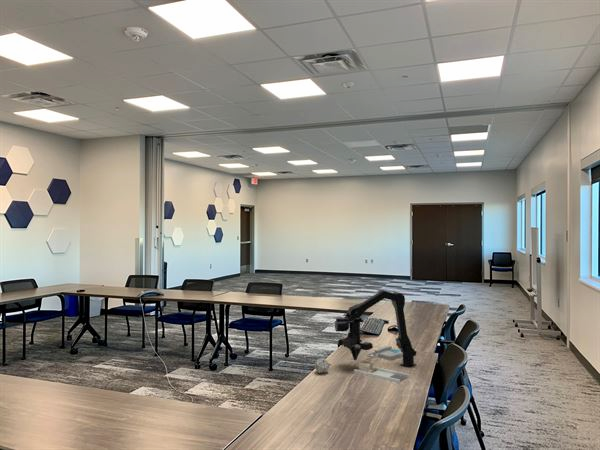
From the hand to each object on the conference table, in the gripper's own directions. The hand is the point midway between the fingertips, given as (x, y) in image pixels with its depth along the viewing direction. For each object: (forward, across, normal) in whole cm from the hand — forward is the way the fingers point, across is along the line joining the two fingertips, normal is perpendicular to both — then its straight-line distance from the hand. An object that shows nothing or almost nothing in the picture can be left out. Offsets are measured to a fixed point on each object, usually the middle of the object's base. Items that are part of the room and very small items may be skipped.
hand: (355, 360), depth 229 cm
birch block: (+4, +7, 0) cm, 9 cm away
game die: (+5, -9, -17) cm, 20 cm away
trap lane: (+5, +16, 0) cm, 17 cm away
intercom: (+5, +1, +28) cm, 29 cm away
